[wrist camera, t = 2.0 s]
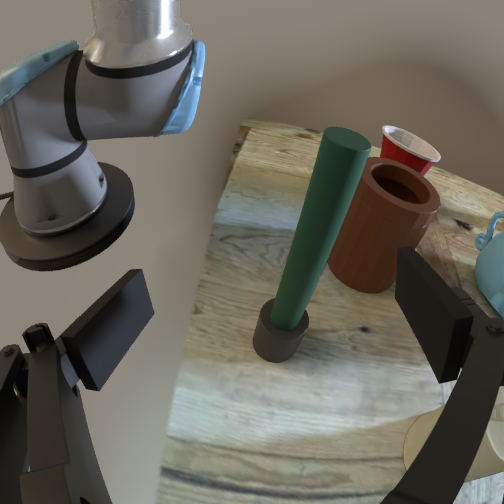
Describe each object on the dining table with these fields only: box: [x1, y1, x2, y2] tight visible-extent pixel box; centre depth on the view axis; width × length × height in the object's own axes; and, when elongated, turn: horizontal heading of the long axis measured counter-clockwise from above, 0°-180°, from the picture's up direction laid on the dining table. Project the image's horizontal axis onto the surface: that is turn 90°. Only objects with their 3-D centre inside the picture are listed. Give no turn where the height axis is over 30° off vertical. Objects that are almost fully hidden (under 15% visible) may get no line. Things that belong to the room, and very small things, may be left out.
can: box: [403, 386, 504, 482], centre depth 19 cm, size 9×9×12 cm
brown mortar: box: [327, 157, 441, 293], centre depth 36 cm, size 10×10×13 cm
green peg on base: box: [253, 127, 371, 362], centre depth 23 cm, size 4×4×22 cm
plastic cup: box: [380, 126, 441, 176], centre depth 48 cm, size 11×11×12 cm
